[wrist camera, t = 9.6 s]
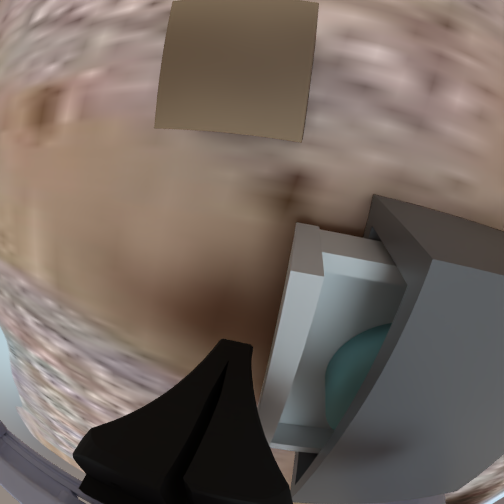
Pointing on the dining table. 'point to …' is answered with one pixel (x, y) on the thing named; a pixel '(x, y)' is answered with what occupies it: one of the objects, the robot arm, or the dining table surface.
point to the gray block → (423, 370)
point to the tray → (321, 328)
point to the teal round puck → (350, 371)
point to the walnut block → (238, 67)
